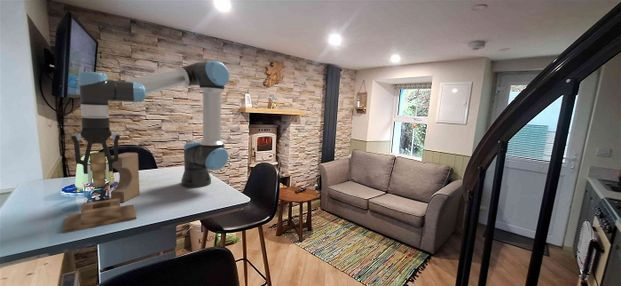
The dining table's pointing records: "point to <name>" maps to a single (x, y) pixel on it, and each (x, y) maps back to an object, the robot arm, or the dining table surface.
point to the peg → (98, 168)
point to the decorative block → (126, 177)
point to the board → (77, 219)
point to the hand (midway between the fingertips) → (99, 181)
